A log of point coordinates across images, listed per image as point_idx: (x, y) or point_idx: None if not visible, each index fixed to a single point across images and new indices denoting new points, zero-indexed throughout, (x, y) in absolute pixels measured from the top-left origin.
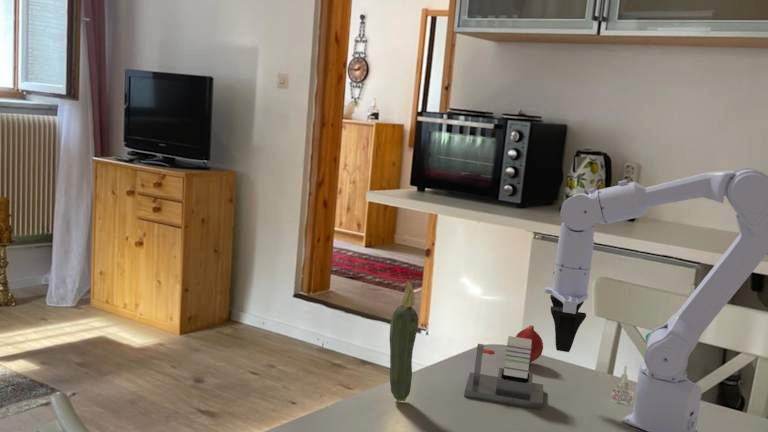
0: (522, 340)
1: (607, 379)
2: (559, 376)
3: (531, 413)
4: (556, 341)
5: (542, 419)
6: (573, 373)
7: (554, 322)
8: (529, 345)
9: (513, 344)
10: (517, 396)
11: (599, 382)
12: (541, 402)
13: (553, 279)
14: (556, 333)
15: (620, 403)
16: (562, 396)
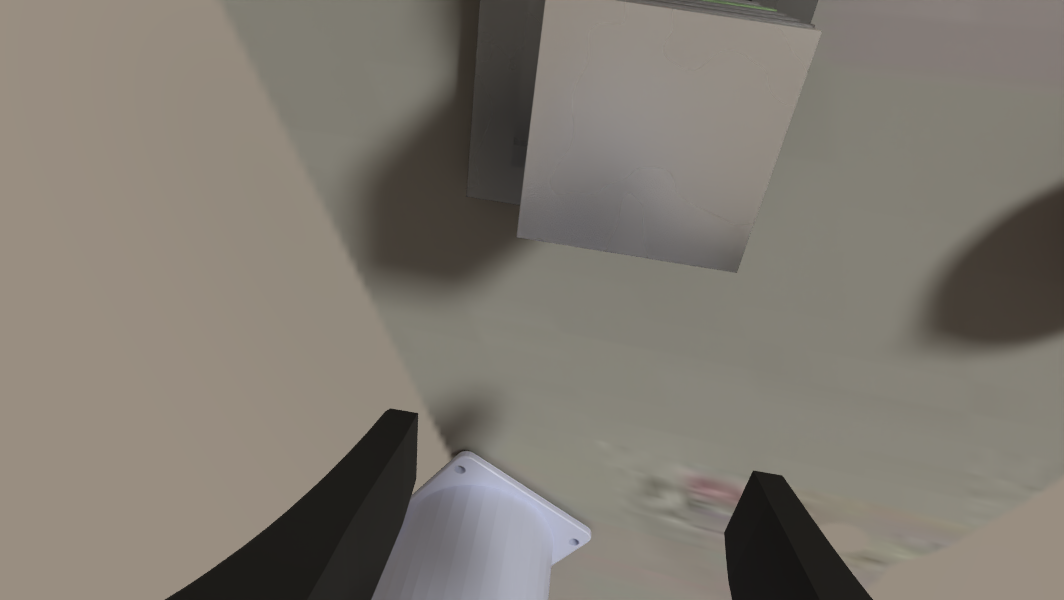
0: (677, 177)
1: (918, 513)
2: (956, 342)
3: (414, 126)
4: (348, 453)
5: (366, 169)
6: (1001, 410)
7: (182, 590)
8: (535, 224)
9: (541, 64)
10: (509, 68)
11: (878, 479)
12: (472, 190)
13: None
14: (294, 506)
15: (651, 488)
16: (676, 304)
